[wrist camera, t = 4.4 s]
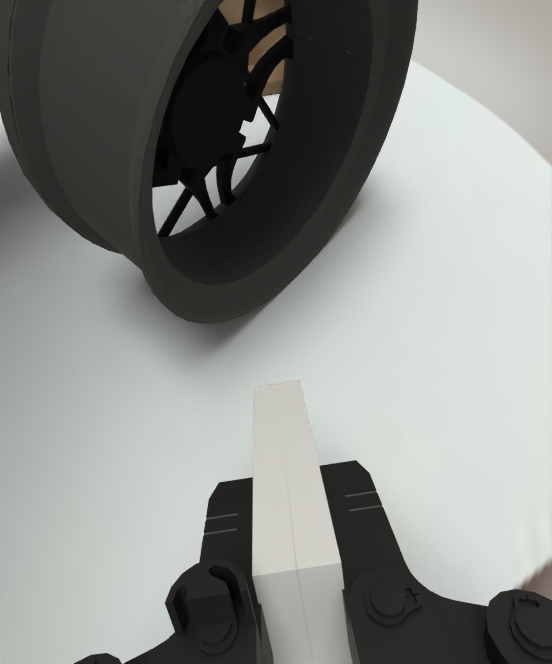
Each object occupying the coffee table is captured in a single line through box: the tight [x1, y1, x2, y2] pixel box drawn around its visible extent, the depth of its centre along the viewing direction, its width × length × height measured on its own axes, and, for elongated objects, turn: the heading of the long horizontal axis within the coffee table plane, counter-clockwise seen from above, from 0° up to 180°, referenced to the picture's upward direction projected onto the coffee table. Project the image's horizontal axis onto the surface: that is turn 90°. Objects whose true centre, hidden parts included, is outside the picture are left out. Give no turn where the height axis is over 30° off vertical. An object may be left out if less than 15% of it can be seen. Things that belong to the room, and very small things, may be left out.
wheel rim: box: [0, 0, 418, 324], centre depth 22 cm, size 20×9×20 cm, turn 138°
